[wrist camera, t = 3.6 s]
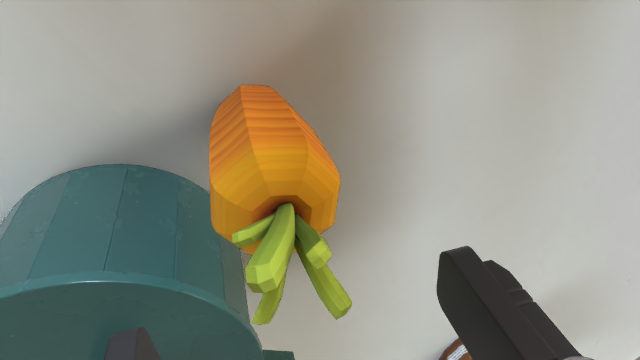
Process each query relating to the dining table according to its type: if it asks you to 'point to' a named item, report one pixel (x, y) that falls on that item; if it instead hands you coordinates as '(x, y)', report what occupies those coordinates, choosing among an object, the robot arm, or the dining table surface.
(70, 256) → the pot
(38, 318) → the pot lid
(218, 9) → the dining table surface
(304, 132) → the carrot
